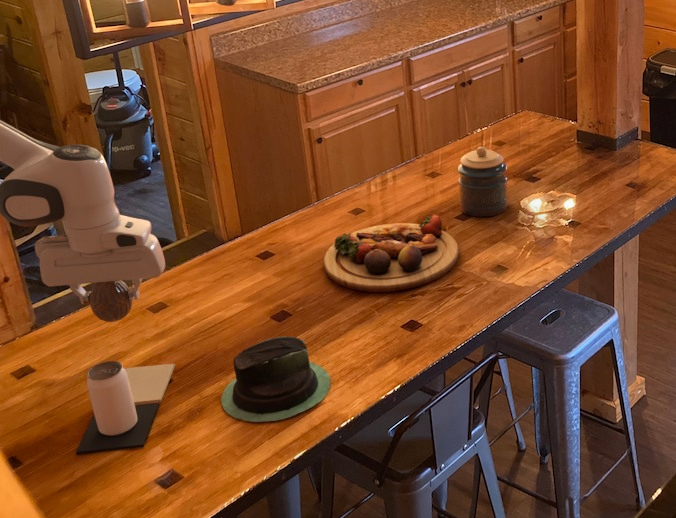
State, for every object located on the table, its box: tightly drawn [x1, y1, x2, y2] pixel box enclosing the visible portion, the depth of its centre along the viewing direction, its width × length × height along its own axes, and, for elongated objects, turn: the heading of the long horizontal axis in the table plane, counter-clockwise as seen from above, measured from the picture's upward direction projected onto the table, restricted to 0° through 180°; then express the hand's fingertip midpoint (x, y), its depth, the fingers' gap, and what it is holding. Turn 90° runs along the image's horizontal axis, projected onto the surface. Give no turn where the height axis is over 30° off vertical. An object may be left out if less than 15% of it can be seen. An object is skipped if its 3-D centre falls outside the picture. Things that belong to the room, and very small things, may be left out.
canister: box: [457, 146, 509, 218], centre depth 254 cm, size 13×13×18 cm
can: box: [86, 360, 137, 436], centre depth 169 cm, size 6×6×12 cm
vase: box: [89, 280, 133, 323], centre depth 174 cm, size 7×7×9 cm
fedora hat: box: [220, 336, 332, 423], centre depth 181 cm, size 15×19×20 cm
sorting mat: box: [75, 363, 176, 455], centre depth 177 cm, size 11×25×1 cm, turn 10°
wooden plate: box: [322, 214, 460, 293], centre depth 228 cm, size 32×32×8 cm
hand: (111, 300), depth 174 cm, fingers closed on vase, 7 cm apart
